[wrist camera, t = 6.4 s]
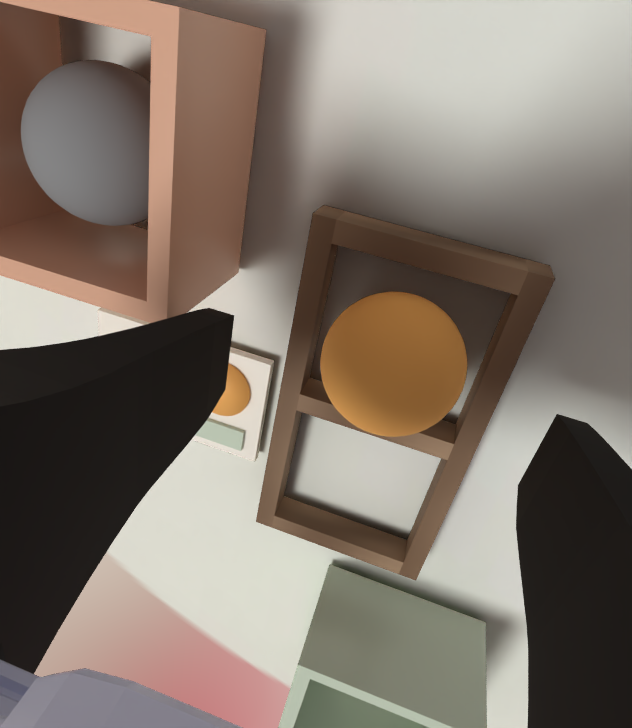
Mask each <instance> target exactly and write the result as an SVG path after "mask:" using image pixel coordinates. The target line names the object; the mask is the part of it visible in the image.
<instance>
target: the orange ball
mask: <svg viewBox="0 0 632 728" xmlns="http://www.w3.org/2000/svg"><path fill="white" fill-rule="evenodd" d="M320 368H321V376H322V381H323V385H324V388H325V390H326V393H327V395H328V397H329V399H330V401H331V402H332V404H333V406H334V407H335V408H336V409H337V411H338V412H339V413H340V414H341V415H342V416H343V417H344V418H345V419H347V420H348V421H349V422H350V423H352V424H353V425H355V426H356V427H358V428H360V429H362V430H364V431H366V432H369V433H372V434H376V435H380V436H388V437H398V436H407V435H412V434H415V433H419V432H421V431H423V430H426V429H428V428H429V427H431V426H433V425H435V424H436V423H438V422H439V421H440V420H441V419H443V418H444V417H445V416H446V414H447V413H448V412H449V411H450V410H451V409H452V408H453V406H454V405H455V404H456V402H457V400H458V398H459V396H460V394H461V392H462V390H463V387H464V384H465V380H466V374H467V355H466V348H465V345H464V341H463V338H462V336H461V334H460V332H459V330H458V328H457V326H456V325H455V323H454V322H453V320H452V319H451V318H450V317H449V316H448V315H447V313H445V312H444V311H443V310H442V309H441V308H440V307H438V306H437V305H435V304H434V303H433V302H431V301H429V300H427V299H425V298H423V297H420V296H418V295H415V294H411V293H406V292H383V293H377V294H373V295H370V296H367V297H365V298H363V299H360V300H359V301H357V302H355V303H354V304H352V305H351V306H349V307H348V308H347V309H346V310H344V311H343V312H342V313H341V314H340V316H339V317H338V318H337V319H336V320H335V321H334V323H333V324H332V326H331V327H330V329H329V331H328V333H327V336H326V338H325V340H324V344H323V347H322V353H321V360H320Z"/></svg>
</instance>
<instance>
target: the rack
mask: <svg viewBox="0 0 632 728" xmlns="http://www.w3.org/2000/svg"><path fill="white" fill-rule="evenodd" d="M338 246H342V247H346V248H349V249H353V250H356V251H360V252H364V253H367V254H371V255H374V256H378V257H382V258H385V259H389V260H392V261H396V262H400V263H403V264H407V265H410V266H414V267H418V268H421V269H425V270H428V271H432V272H436V273H439V274H443V275H446V276H450V277H454V278H457V279H461V280H464V281H468V282H472V283H475V284H479V285H482V286H486V287H490V288H493V289H497V290H500V291H504V292H508V293H511V294H510V296H509V299H508V301H507V304H506V306H505V308H504V311H503V313H502V315H501V318H500V320H499V323H498V325H497V327H496V330H495V332H494V335H493V337H492V339H491V342H490V344H489V346H488V349H487V351H486V354H485V356H484V358H483V361H482V363H481V365H480V368H479V370H478V373H477V375H476V377H475V380H474V382H473V385H472V387H471V389H470V392H469V394H468V396H467V399H466V401H465V404H464V406H463V408H462V411H461V413H460V415H459V418H458V420H457V423H456V424H453V423H450V422H447V421H444V420H440V421H439V422H438V423H436V424H435V425H433V426H431V427H429V428H428V429H426V430H423V431H421V432H419V433H415V434H412V435H407V436H398V437H388V436H380V435H376V434H372V433H369V432H366V431H364V430H362V429H360V428H358V427H356V426H355V425H353V424H352V423H350V422H349V421H348V420H347V419H345V418H344V417H343V416H342V415H341V414H340V413H339V412H338V411H337V409H336V408H335V407H334V406H333V404H332V402H331V401H330V399H329V397H328V395H327V393H326V390H325V388H324V385H323V382H321V381H318V380H315V379H312V378H310V373H311V368H312V364H313V359H314V355H315V350H316V345H317V341H318V336H319V332H320V327H321V322H322V318H323V313H324V309H325V304H326V299H327V295H328V290H329V286H330V281H331V276H332V272H333V267H334V263H335V258H336V253H337V249H338ZM554 280H555V277H554V275H553V272H552V269H551V267H550V265H546V264H542V263H538V262H535V261H531V260H527V259H523V258H520V257H516V256H512V255H509V254H505V253H501V252H497V251H494V250H490V249H486V248H482V247H479V246H475V245H471V244H467V243H464V242H460V241H456V240H452V239H449V238H445V237H441V236H437V235H434V234H430V233H426V232H422V231H419V230H415V229H411V228H407V227H404V226H400V225H396V224H392V223H389V222H385V221H381V220H377V219H374V218H370V217H366V216H363V215H359V214H355V213H351V212H348V211H344V210H340V209H336V208H333V207H329V206H325V205H323V206H322V207H320V208H319V209H318V210H316V211H315V212H314V213H313V215H312V221H311V226H310V231H309V237H308V242H307V248H306V253H305V259H304V264H303V269H302V275H301V280H300V286H299V291H298V296H297V302H296V307H295V313H294V318H293V324H292V329H291V334H290V340H289V345H288V351H287V356H286V362H285V367H284V372H283V378H282V383H281V389H280V394H279V400H278V405H277V410H276V416H275V421H274V427H273V432H272V437H271V443H270V448H269V454H268V459H267V465H266V470H265V475H264V481H263V486H262V492H261V497H260V503H259V508H258V513H257V519H256V522H258V523H261V524H264V525H267V526H269V527H272V528H275V529H277V530H280V531H283V532H286V533H288V534H291V535H294V536H296V537H299V538H302V539H305V540H307V541H310V542H313V543H316V544H318V545H321V546H324V547H326V548H329V549H332V550H335V551H337V552H340V553H343V554H345V555H348V556H351V557H354V558H356V559H359V560H362V561H364V562H367V563H370V564H373V565H375V566H378V567H381V568H383V569H386V570H389V571H392V572H394V573H397V574H400V575H402V576H405V577H408V578H411V579H413V580H416V579H417V577H418V575H419V572H420V570H421V568H422V566H423V564H424V562H425V559H426V557H427V555H428V553H429V551H430V549H431V546H432V544H433V542H434V540H435V538H436V536H437V533H438V531H439V529H440V527H441V525H442V523H443V520H444V518H445V516H446V514H447V512H448V510H449V507H450V505H451V503H452V501H453V499H454V497H455V494H456V492H457V490H458V488H459V486H460V484H461V481H462V479H463V477H464V475H465V473H466V471H467V468H468V466H469V464H470V462H471V460H472V458H473V455H474V453H475V451H476V449H477V447H478V445H479V443H480V440H481V438H482V436H483V434H484V432H485V430H486V427H487V425H488V423H489V421H490V419H491V417H492V414H493V412H494V410H495V408H496V406H497V404H498V401H499V399H500V397H501V395H502V393H503V391H504V388H505V386H506V384H507V382H508V380H509V378H510V375H511V373H512V371H513V369H514V367H515V365H516V362H517V360H518V358H519V356H520V354H521V352H522V349H523V347H524V345H525V343H526V341H527V339H528V336H529V334H530V332H531V330H532V328H533V326H534V323H535V321H536V319H537V317H538V315H539V313H540V310H541V308H542V306H543V304H544V302H545V300H546V297H547V295H548V293H549V291H550V289H551V287H552V284H553V282H554ZM302 412H303V413H306V414H309V415H312V416H315V417H318V418H321V419H324V420H327V421H330V422H333V423H336V424H339V425H342V426H345V427H348V428H351V429H354V430H357V431H360V432H363V433H366V434H370V435H373V436H376V437H379V438H382V439H385V440H388V441H391V442H394V443H397V444H400V445H403V446H406V447H409V448H412V449H415V450H418V451H421V452H424V453H427V454H430V455H433V456H436V457H439V458H441V461H440V463H439V465H438V468H437V470H436V473H435V475H434V477H433V480H432V482H431V485H430V487H429V489H428V492H427V494H426V496H425V499H424V501H423V504H422V506H421V508H420V511H419V513H418V515H417V518H416V520H415V523H414V525H413V527H412V530H411V532H410V535H409V537H408V539H407V540H405V539H402V538H400V537H397V536H394V535H391V534H388V533H386V532H383V531H380V530H377V529H374V528H372V527H369V526H366V525H363V524H360V523H358V522H355V521H352V520H349V519H346V518H344V517H341V516H338V515H335V514H332V513H330V512H327V511H324V510H321V509H318V508H316V507H313V506H310V505H307V504H304V503H302V502H299V501H296V500H293V499H291V498H288V497H285V496H284V493H285V488H286V483H287V479H288V474H289V470H290V465H291V460H292V456H293V451H294V447H295V442H296V437H297V433H298V428H299V424H300V419H301V414H302Z"/></svg>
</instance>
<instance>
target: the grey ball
mask: <svg viewBox="0 0 632 728" xmlns="http://www.w3.org/2000/svg"><path fill="white" fill-rule="evenodd" d="M21 140H22V147H23V151H24V155H25V158H26V161H27V164H28V166H29V168H30V170H31V172H32V174H33V176H34V178H35V179H36V181H37V182H38V184H39V185H40V187H41V188H42V189H43V190H44V192H45V193H46V194H47V195H48V196H49V197H50V198H51V199H52V200H53V201H54V202H55V203H57V204H58V205H59V206H61V207H62V208H63V209H65V210H66V211H68V212H69V213H71V214H73V215H75V216H77V217H79V218H81V219H84V220H86V221H89V222H92V223H96V224H102V225H109V226H121V225H130V224H134V223H137V222H141V221H143V220H146V219H148V202H149V142H150V82H148V81H147V80H146V79H145V78H143V77H142V76H140V75H139V74H137V73H136V72H134V71H132V70H130V69H127V68H125V67H123V66H121V65H118V64H114V63H111V62H105V61H98V60H84V61H77V62H72V63H69V64H66V65H63V66H61V67H58V68H56V69H55V70H53V71H52V72H50V73H49V74H47V75H46V76H45V77H44V78H43V79H41V80H40V81H39V82H38V84H37V85H36V86H35V88H34V89H33V90H32V92H31V93H30V95H29V97H28V99H27V102H26V105H25V108H24V111H23V114H22V120H21Z"/></svg>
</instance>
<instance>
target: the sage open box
mask: <svg viewBox="0 0 632 728" xmlns="http://www.w3.org/2000/svg"><path fill="white" fill-rule="evenodd" d="M278 728H487V706H486V622H483V621H481V620H478V619H475V618H473V617H470V616H467V615H465V614H462V613H459V612H456V611H454V610H451V609H448V608H446V607H443V606H440V605H438V604H435V603H432V602H430V601H427V600H424V599H422V598H419V597H416V596H414V595H411V594H408V593H405V592H403V591H400V590H397V589H395V588H392V587H389V586H387V585H384V584H381V583H379V582H376V581H373V580H371V579H368V578H365V577H363V576H360V575H357V574H355V573H352V572H349V571H346V570H344V569H341V568H338V567H336V566H333V565H329V568H328V571H327V574H326V578H325V581H324V584H323V587H322V590H321V593H320V597H319V600H318V603H317V606H316V609H315V612H314V616H313V619H312V622H311V625H310V628H309V631H308V634H307V638H306V641H305V644H304V647H303V650H302V653H301V657H300V660H299V663H298V666H297V669H296V672H295V676H294V679H293V682H292V685H291V688H290V692H289V695H288V698H287V701H286V705H285V708H284V711H283V714H282V718H281V721H280V724H279V727H278Z"/></svg>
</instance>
